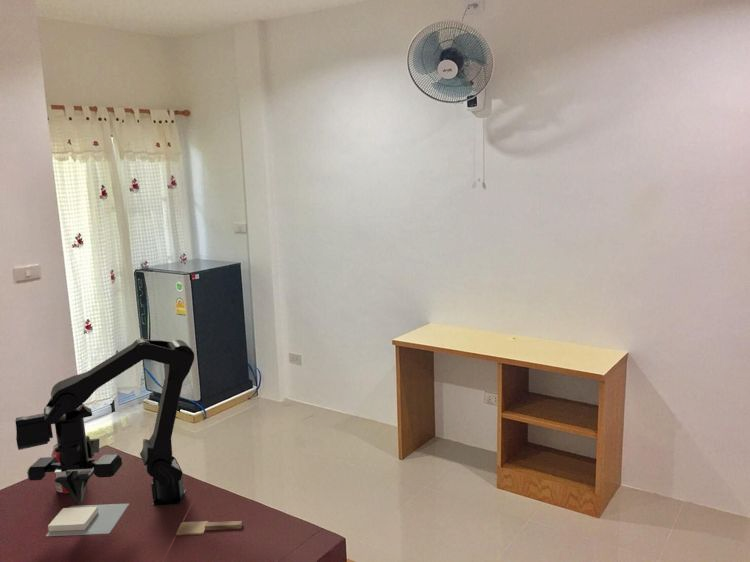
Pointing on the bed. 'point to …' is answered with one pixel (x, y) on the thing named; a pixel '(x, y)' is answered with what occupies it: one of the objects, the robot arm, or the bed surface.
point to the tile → (73, 519)
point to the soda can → (58, 485)
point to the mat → (98, 520)
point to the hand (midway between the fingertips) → (80, 501)
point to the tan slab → (205, 527)
